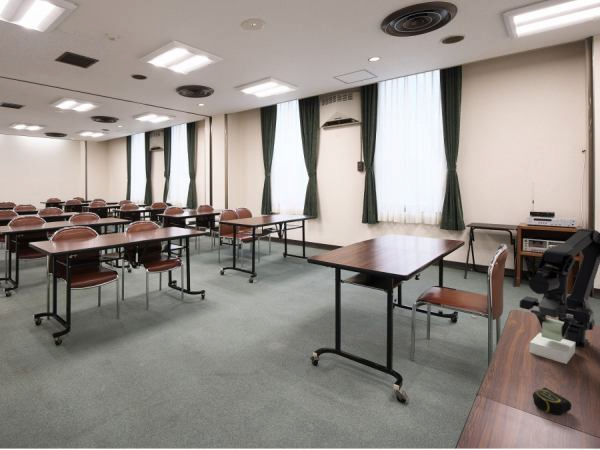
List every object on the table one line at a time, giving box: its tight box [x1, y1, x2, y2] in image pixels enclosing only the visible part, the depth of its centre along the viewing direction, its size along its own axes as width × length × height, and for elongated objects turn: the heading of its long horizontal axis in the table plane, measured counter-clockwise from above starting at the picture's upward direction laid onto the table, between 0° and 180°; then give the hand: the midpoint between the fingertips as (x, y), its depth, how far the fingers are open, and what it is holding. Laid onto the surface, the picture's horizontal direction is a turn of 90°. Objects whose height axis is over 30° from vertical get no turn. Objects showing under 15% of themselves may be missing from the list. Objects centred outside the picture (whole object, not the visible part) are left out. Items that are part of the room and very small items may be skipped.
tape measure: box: [532, 387, 572, 416], centre depth 87 cm, size 7×7×4 cm
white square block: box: [528, 332, 576, 365], centre depth 114 cm, size 10×10×4 cm
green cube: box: [541, 317, 565, 342], centre depth 113 cm, size 5×5×5 cm
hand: (553, 333), depth 113 cm, fingers closed on green cube, 5 cm apart
